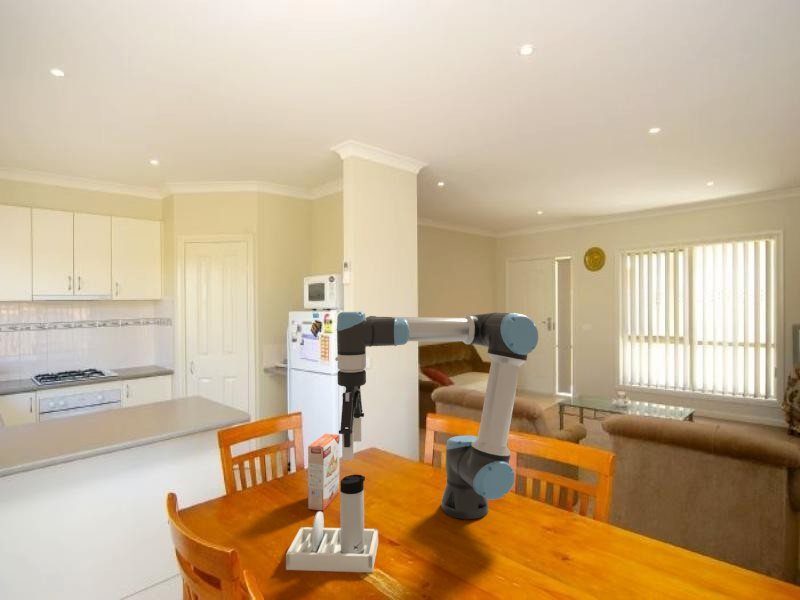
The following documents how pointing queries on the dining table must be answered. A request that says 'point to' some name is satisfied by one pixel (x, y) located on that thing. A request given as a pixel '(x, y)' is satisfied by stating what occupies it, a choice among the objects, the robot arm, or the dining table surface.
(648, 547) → the dining table surface
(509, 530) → the dining table surface
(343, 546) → the travel mug
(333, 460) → the cracker box
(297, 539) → the rack
